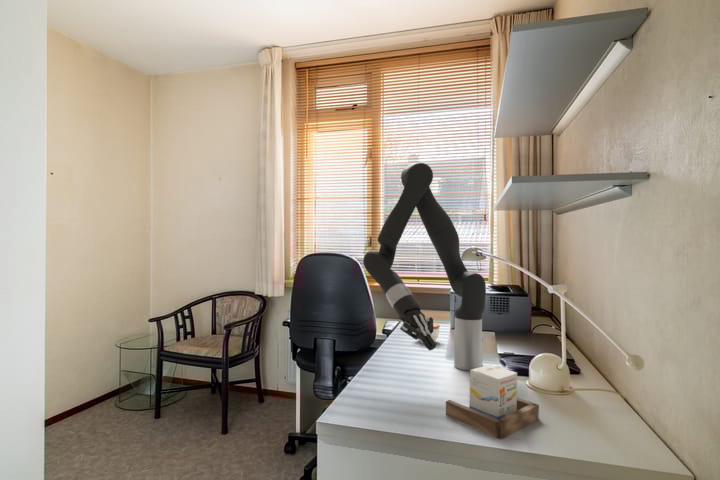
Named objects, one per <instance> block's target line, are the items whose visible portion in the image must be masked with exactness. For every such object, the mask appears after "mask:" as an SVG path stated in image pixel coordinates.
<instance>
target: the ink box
mask: <svg viewBox="0 0 720 480" xmlns="http://www.w3.org/2000/svg"><path fill="white" fill-rule="evenodd" d="M469 371H470V370H469ZM469 376H470V379H469V400H468V401H469V403H468V404H469V405H468V407H469V408H471V409H474V410H477V411H479V412H482V413H484V414H487V415H489V416H492V417H494V418H497V419H501V418H503V417H505V416H507V415H509V414H511V413H513V412H515V411H517V398H518V395H517V393H518V372H517V371H512V370H510V369H507V368H503V367H500V366H496V365H492V364H488V365H484V366H483V365H482V367H479V368H475V369H471V371H470V374H469Z"/></svg>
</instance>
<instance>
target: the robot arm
mask: <svg viewBox="0 0 720 480" xmlns="http://www.w3.org/2000/svg"><path fill="white" fill-rule="evenodd" d="M400 174H401V175H400V179H401V181H400V182H401V184H402V186H403V189H402V192H401V195H400V197H399V199H398V200H397V203H396V204H395V205H394V207H393V209H392V210H391V211H390V213H389V214H388V216H387V218H386V219H385V221H384V223H383V225H382V227H381V229H380V231H379V234H378V237H377V242H378V244H379V250H373V249H371V250H369V251H367V252H366V253H365V254H364V256H363V258H362V259H363V262H362V263H363V266H364V269H365V270H366V271H367V273H368V274H369V275H370V277H371V278H372V279H373V280H374V281H375V282H376V283H377V284H378V285H379V287H380V288H381V291H382V292H383V293H384V295H385V298H386V299H387V301H388V303H389V305H390V306H391V308H392V309H393V311H394V313H395V314H396V316H397V318H398V319H399V320H400V321H401V322H402V325H401V326H400V327H399V329H400V331H402V332H403V333H405V334H407V335H408V336H410V337H412V339H414V340H415V341H416V340H418V339H420V340H422V342H423V343H422V344H424V346H425V348H426V349H427V350H428V351H433V350H434V349H435V348H436V347H437V344H436V342H435V341H433V339H432V337H431V334H432V333H433V322H434V318H433V317H432V316H431V317H429V318H428V317H426V316H425V314H424V313H423V312H422V311H421V306H420V303H419V302H418V301H417V299H416V298H415V296H414V294H413V293H412V291H411V289H409V287H408V286H406V284H405V283H404V281H403V279H402V278H401V277H400V275H399V274H398V273H397V272H396V271H394V270H393V269H391V268H392V267H393V265H394V261H395V258H396V257H395V256H396V252H397V247H398V244H399V243H400V240H401V238H402V236H403V233H404V231H405V229H406V227H407V224H408V223H409V221H410V218H411V216H412V215H413V213H414V211H415V210H416V211H418V215H419V217H420V219H421V221H422V224H423V226H424V228H425V231H426V233H427V235H428V237H429V239H430V241H431V243H432V245H433V247H434V249H435V251H436V254H437V255H438V258H439V260H440V261H441V263H442V266H443V268H444V270H445V272H446V276H447V279H448V282H449V285H450V287H451V289H452V291H453V292H454V294H456V296H459V297H460V298H461V304H460V306H459V307H456V308H455V309H454V347H453V348H454V349H453V350H454V352H453V353H454V354H453V357H454V358H453V366H454V367H455V368H457V369H459V370H461V371H462V370H463V371H471V369H475V368H479V367H483V354H484V353H483V352H484V351H483V349H484V340H483V339H482V338H483V337H482V336H483V314H484V311H485V307H486V297H487V296H486V294H487V293H486V292H487V287H486V286H487V285H486V281H485V279H484V277H483V276H482V275H481V274H480V273H478V272H472V271H468V269H467V268H466V266H465V264H464V262H463V259H462V257H461V252H460V238H459V233H458V231H457V230H456V227H455V224H454V222H453V221H452V219H451V217H450V216H449V215H448V213H447V212H446V210H445V209H444V208H443V207H442V206H441V204H440V203H439V202H438V201H437V199H436V198H435V196H434V194H433V192H432V189H431V187H430V186H431V184H432V182H433V178H434V173H433V170H432V168H431V166H429V164H427V163H425V162H414V163H412V164H409V165H407V166H405V167H404V168H403V170H402V172H401V173H400Z"/></svg>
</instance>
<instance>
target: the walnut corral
mask: <svg viewBox="0 0 720 480" xmlns="http://www.w3.org/2000/svg"><path fill="white" fill-rule="evenodd" d="M445 416H447V417H449V418H452V419H454V420H456V421H458V422H461V423H463V424H465V425H467V426H470V427H472V428H474V429H476V430H479V431H480V432H483V433H485V434H488V435H491V436H492V437H495V438H497V439H500V440H502V439H505V438H506V437H508V436H510V435H512V434H513V433H516V432H517V431H519V430H521V429H523V428H524V427H527V426H528V425H530V424H532V423H534V422H536V421H537V420H539V417H540V405H539V404H538V403H535V402H531V401H528V400H525V399H523V398H519V397H517V411H515V412H513V413H511V414H509V415H507V416H505V417H503V418H501V419H497V418H494V417H492V416H489V415H487V414H484V413H482V412H479V411H477V410H474V409H471V408H469V406H466V405H463V404H461V403H460V402H459V403H458V402H456V401H454V400H451V399H448V400H446V401H445Z"/></svg>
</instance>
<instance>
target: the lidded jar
mask: <svg viewBox="0 0 720 480" xmlns="http://www.w3.org/2000/svg"><path fill="white" fill-rule="evenodd" d="M439 335H440V324H439V323H437V322H434V321H433V333H432V334H431V337H432V339H433V341H434V342H435V341H436V340H437V339H438V338H439ZM417 340H418V341H419V342H420V343H422V344H424V343H423V342H422V340H420V339H417Z"/></svg>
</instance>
